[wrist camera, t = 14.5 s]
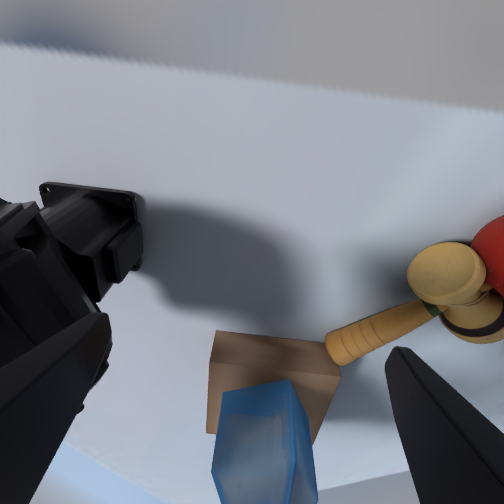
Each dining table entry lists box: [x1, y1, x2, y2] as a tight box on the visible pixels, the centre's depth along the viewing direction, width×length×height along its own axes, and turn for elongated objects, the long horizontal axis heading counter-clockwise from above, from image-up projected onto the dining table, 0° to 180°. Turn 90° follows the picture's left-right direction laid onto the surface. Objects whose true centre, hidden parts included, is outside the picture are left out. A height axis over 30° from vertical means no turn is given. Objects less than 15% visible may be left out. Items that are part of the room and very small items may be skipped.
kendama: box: [325, 216, 504, 366], centre depth 22 cm, size 8×6×18 cm
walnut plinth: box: [206, 331, 341, 445], centre depth 29 cm, size 11×11×4 cm
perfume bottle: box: [211, 379, 318, 504], centre depth 22 cm, size 6×6×12 cm
